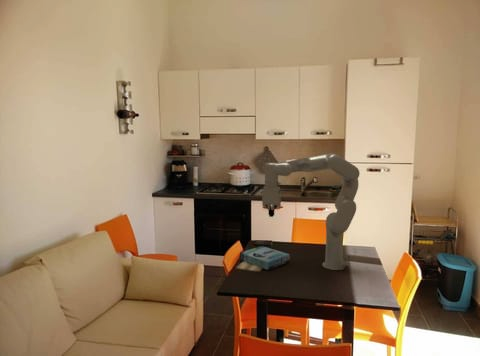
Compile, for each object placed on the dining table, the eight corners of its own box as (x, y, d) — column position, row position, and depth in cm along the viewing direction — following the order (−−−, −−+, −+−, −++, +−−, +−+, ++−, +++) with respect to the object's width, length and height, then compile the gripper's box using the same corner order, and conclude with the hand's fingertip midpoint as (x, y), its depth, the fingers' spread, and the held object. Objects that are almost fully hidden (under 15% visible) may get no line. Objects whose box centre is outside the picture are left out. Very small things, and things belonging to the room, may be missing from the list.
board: (270, 259, 225) (270, 258, 225) (259, 272, 205) (259, 271, 205) (249, 256, 230) (249, 255, 230) (235, 268, 210) (235, 267, 210)
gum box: (290, 261, 219) (261, 253, 236) (290, 253, 219) (261, 245, 235) (268, 270, 206) (239, 260, 222) (268, 261, 205) (239, 252, 222)
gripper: (286, 184, 209) (285, 216, 211) (261, 183, 214) (261, 214, 217) (282, 186, 202) (282, 218, 204) (256, 184, 207) (256, 216, 210)
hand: (271, 216), depth 210 cm, fingers closed
